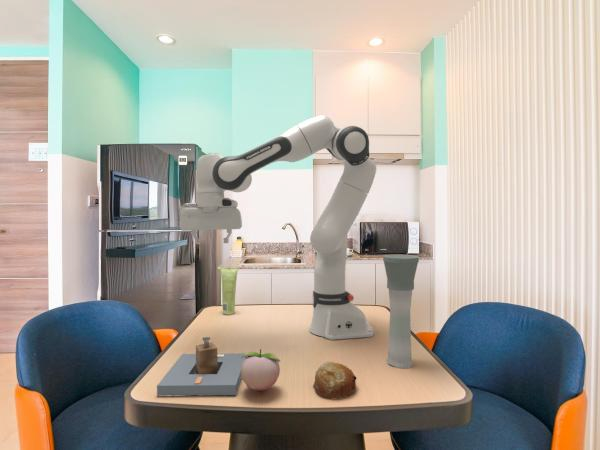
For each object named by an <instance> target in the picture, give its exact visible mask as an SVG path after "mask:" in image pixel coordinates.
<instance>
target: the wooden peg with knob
mask: <svg viewBox="0 0 600 450" xmlns="http://www.w3.org/2000/svg"><path fill="white" fill-rule="evenodd" d="M210 340H211V336H205V337H202V341H203V343H202V344H196V345H195V354H196V373H195V374H217V373H218V356H217V354H218V347H217V345H216V344H215V343H214V342H210Z"/></svg>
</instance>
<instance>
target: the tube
mask: <svg viewBox="0 0 600 450" xmlns="http://www.w3.org/2000/svg"><path fill="white" fill-rule="evenodd" d="M219 271H220V277H221V280H220V281H221V296H222V298H221V299H222V314H223V315H225V316H228V315H234V314H235V310H236V308H235V307H236V290H237V276H238V271H239V267H231V266H230V267H229V266H226V267H225V266H224V267H223V266H220V267H219Z"/></svg>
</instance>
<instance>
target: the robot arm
mask: <svg viewBox="0 0 600 450" xmlns="http://www.w3.org/2000/svg"><path fill="white" fill-rule="evenodd" d="M322 150H327V151H328V152H329V153H330V154H331V156H333V157H334V158H335V159H337V160H339V161H343V165H344V166H343V171H342V174H341V176H340V178H339V181H338V182H337V185H336V187H335V189H334V190H333V193H332V194H331V196H330V197H331V198H330V199H329V200H328V203H327V205H326V207H325V208H324V210H323V211H322V213H321V215H320V217H319V218H318V220H317V222H316V224H315V225H314V227H313V229H312V231H311V233H310V237H309V239H310V240H309V242H310V245H311V247H312V249H313V250H315V251H316V256H315V257H316V258H315V264H314V268H313V269H314V271H313V283H314V284H313V291H312V307H313V310H312V317H311V323H310V327H309V331H310V333H312V334H313V335H316V336H320V337H322V338H326V339H327V340H330V341H331V340H332V341H333V340H343V339H345V340H347V339H357V338H358V339H359V338H370V337H373V336H374V329H373V327H372V325H370V324H369V323H368V322H367V318H366V314H365V313H364V311H362V309H360V308H359V307H358V306H357V305H355V304H354V303H353V301H354V295H353V294H351V293H350V292H348V291H347V290H346V264H347V255H348V254H347V252H348V234H349V231H350V229H351V228H352V226H353V224H354V223H355V221H356V220H357V217H358V216H359V213H360V212H361V210H362V207H363V205H364V204H365V201H366V199H367V197H368V195H369V193H370V191H371V188H372V185H373V183H374V179H375V177H376V173H377V164H376V163H375V162H374V161H373V159H371V158H370V139H369V135H368V133H367V132H366V131H365V130H364V129H363V128H362V127H359V126H356V125H349V126H344V127H342V128H338V127H336V126H335V124H334V122H333V120H332V119H331V118H330V117H329V116H327V115H324V114H320V115H317V116H314V117H311V118H308V119H305V120H304V121H301V122H299V123H298V124H295V125H294V126H292V127H290V128H289V129H287V130H285V131H284V132H282V133H281V134H279V135H277V136H276V137H274V138H272V139H271V140H269V141H267V142H265V143H263V144H260V145H259V146H257V147H255V148H252V149H250V150H248V151H246V152H244V153H242V154H237V155H231V156H230V155H229V156H222V155H221V154H220V153H215V152H213V153H212V152H211V153H205V154H203V155H201V156H200V157H199V158H198V159H197V163H196V183H197V191H196V202H191V203H190V202H189V203H188V202H185V203H183V204H181V205H180V207H179V215H180V219H179V228H180V230H181V231H182V232H189V231H190V234H191V236H192V237H193V239H194V244H195V245H201V243H202V241H201V238H198V236H197V233H198V231H217V230H219V231H221V230H226V233H227V234H226V237H223V239H222V240H223V244H229V242H230V239H229V238H230V237H231V235H232V233H233V232H232V231H233V230H241V228H242V227H243V221H242V220H243V219H242V214H241V211H240V210H239V209H238V205H239V204H238V202H237V200H235V199H230V198H229V197H225V192H226V191H230V192H233V193H241V192H244V191H247V190H248V189H249V187H250V186H251V184H252V182H253V181H252V179H253V178H252V174H253V173H255V172H256V171H259V170H261V169H263V168H265V167H267V166H268V165H270V164H273V163H277V162H289V163H296V162H298V161H302V160H304V159H307V158H309V157H310V156H312V155H315V154H316V153H317V152H319V151H322Z"/></svg>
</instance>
